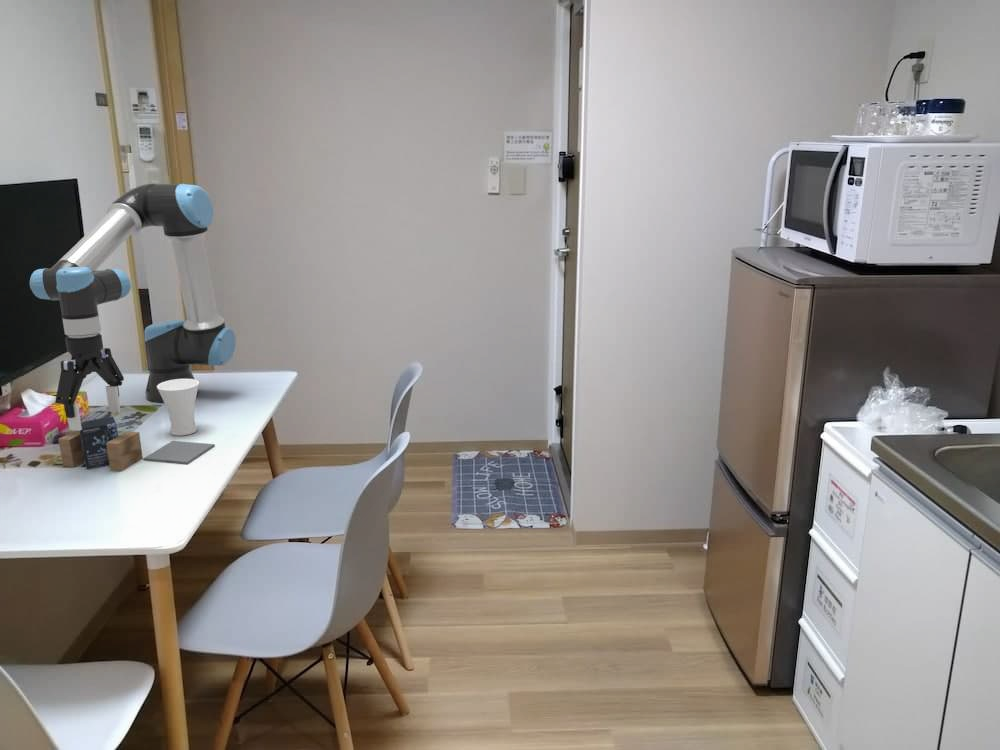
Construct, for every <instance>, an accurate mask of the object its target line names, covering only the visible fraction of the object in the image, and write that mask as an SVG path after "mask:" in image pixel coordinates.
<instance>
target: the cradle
mask: <svg viewBox="0 0 1000 750" xmlns="http://www.w3.org/2000/svg"><path fill="white" fill-rule="evenodd" d="M57 439H58V445H59V446H58V447H59V451H60V457H61V462H62V466H63V467H71V468H74V467H76V466H79V465H80V464H82V463H85V462H84V457H83V450H82V444H81V437H80V431H77V430H73V431H71V432H70V433H68V434H66V435H63V436H62V437H60V438H57ZM141 443H142V442H141V437H140V432H139V431H129V430H128V431H126V432H124V433H122V434H120V435H118V437H116V438H115V439H113V440H111V441H109V442H107V443H106V446H107V452H108V459H109V471H113V472H123V471H125V470H127V469H128V468H129V467H131V466H133V465H135V464H136V463H138V462H140V461H141V460H144V459H143V458H144V457H143V450H142V444H141Z"/></svg>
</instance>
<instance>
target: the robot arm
mask: <svg viewBox="0 0 1000 750" xmlns="http://www.w3.org/2000/svg"><path fill="white" fill-rule="evenodd" d="M213 215H214V208H213V204H212V200H211V198H210V196H209V194H208V193H207V191H206V190H204V189H203V188H202V187H201V186H199V185H195V184H188V183H187V184H186V183H147V184H141V185H139V186H137V187H135V188H133V189H130V190H128V191H127V192H124V194H122V195H121V196H119V197H118V198H116V200H115V201H113V202H112V203H111V204H110V205H109V206H108V207H107V210H106V214H105V216H103V217H102V218H101V219H100V220H99V221H98V222H97V223H96V224H95V225H94V226H93V227H92V228H91V229H90V230H89V231H88V232H87V233H86V234H85V235H84V236H83V237H82V238H81V239H79V241H77V243H76V244H75V245H74V246H73V247H71V249H69V251H67V252H66V253H65V254H64V255H63V256H62V257H61V258H60V259H59V260H58V261H57V262H56V263H55V264H54V265H52V267H50V268H47V267H45V268H39V269H36V270H34V271H33V272H32V273H31V276H30V279H29V287H30V290H31V291H32V294H33V295H34V296H35V297H36V298H38V299H41V300H50V301H59V305H60V310H61V319H62V324H63V330H64V331H63V332H64V335H66V337H65V338H64V339H65V346H66V351H67V352H68V353H69V354H70V356H71V358H70V360H61V361H60V375H59V380H58V385H57V390H56V396H55V404H59V405H63V406H64V413H65V418H66V419H67V422H68V424H67V425H68V431H76V430H77V431H80V430H82V427H81V422H82V421H81V415H80V409H79V404H78V402H76V399H77V397H78V394H79V392H80V390H81V387H82V384H83V381H84V380H85V379H86V378H87V376H88V375H91V374H92V373H96V374H97V375H98V376H99V377H100V378H101V379H102V380H103V381H104V382H105V383H106V384H107V386H105V391H106V400H107V406H108V412H110V413H111V412H112V413H113V412H114V413H120V412H121V403H120V391H119V386H122V385H123V381H124V379H125V377H124V375H123V373H122V371H121V370H120V368H119V366H118V365H117V363H116V361H115V358H113V354H112V350H111V348H110V347H104V345H103V338H102V334H101V331H102V327H101V322H100V321H101V320H100V316H99V310H98V305H101V304H105V303H106V304H107V303H109V302H116V301H118V300H120V299H123V298H125V297H126V296H127V295H128V294H129V293H130V292H131V287H132V285H131V279H130V277H129V275H128V274H127V273H126V272H125V271H123V270H122V269H120V268H106V269H104V270H103V269H102V270H98V269H99V268H100V267H101V265H103V264H104V262H105V261H107V259H108V258H109V257H110V256H111V255H112V254H113V253H114V252H115V251H116V250H117V249H118V248H119V247H120V246H121V245H122V244H123V242H125V241H126V239H128V238H129V236H131V235H135V234H138V233H139V232H140V231H141V230H142V229H144V228H148V227H162V229H163V230H162V231H163V233H164V236H165V237H166V238H167V239H169V240H170V241H171V245H172V250H173V255H174V258H175V259H174V260H175V265H176V268H177V274H178V278H179V279H178V281H179V283H180V289H181V293H182V298H183V304H184V309H185V314H186V318H187V319H186V321H185V320H183V319H172V320H165V321H161V322H155V323H153V324H150V325H148V326H146V327H145V328H144V344H145V350H146V357H147V358H146V359H147V364H148V371H149V374H148V379H147V383H146V389H145V396H146V400H148V401H150V402H154V403H164V401H163V399H162V397H161V395H160V393H159V391H158V389H157V385H159V384H160V383H162V382H165V381H169V380H175V379H195V380H196V378H195V377H194V374H193V373H192V370H191V366H190V365H193V366H210V367H216V366H217V367H218V366H224V365H226V364H228V363H229V362H230V360H231V359H233V358H232V357H233V355H234V352H235V350H236V347H237V345H236V344H237V343H236V342H237V340H236V339H237V338H236V332H235V331H234V330H233V328H230V327H229V326H226V323H225V319H224V317H222V316H221V315H219V314H218V310H217V309H218V308H217V305H216V299H215V292H214V288H213V282H212V277H211V271H210V265H209V260H208V259H209V258H208V254H207V249H206V244H205V238H204V237H205V235H206V234H207V233H208V231H209V230H208V227H209V226H211V224H212V223H213V220H214V218H213ZM199 390H200V389H199V388H198V390H197V395H198V394H200V393H199V392H200V391H199Z"/></svg>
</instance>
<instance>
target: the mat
mask: <svg viewBox="0 0 1000 750" xmlns="http://www.w3.org/2000/svg"><path fill="white" fill-rule="evenodd" d="M213 448H215V443H206V442H205V443H204V442H191V441H179V440H172V441H170V442H168V443H167V444H165V445H163V446H162V447H160V448H158V449H156V450H155V451H153V452H151V453H150V454H148V455H146V456H144V457H143V459H142V460H143V461H145V462H155V463H157V462H158V463H167V464H168V463H169V464H178V465H179V464H180V465H189V464H191V463H192V462H194V461H195V460H196V459H198V458H199V457H201V456H202V455H204V454H205V453H207V452H208V451H210V450H212V449H213Z"/></svg>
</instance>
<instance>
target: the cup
mask: <svg viewBox="0 0 1000 750" xmlns="http://www.w3.org/2000/svg"><path fill="white" fill-rule="evenodd" d="M199 383H200V382H199V380H197V379H196V378H195V379H175V380H169V381H165V382H162V383H160V384H159V385H157V389H158V391H159V393H160V395H161V397H162V399H163V401H164V402H163V403H164V405H165V407H166V409H167V413H168V417H169V422H170V434H171V435H174V436H186V435H192V434H193V433H195V432H197V425H196V420H195V405H196V398H197V395H198V394H197V390H198V389H199Z"/></svg>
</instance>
